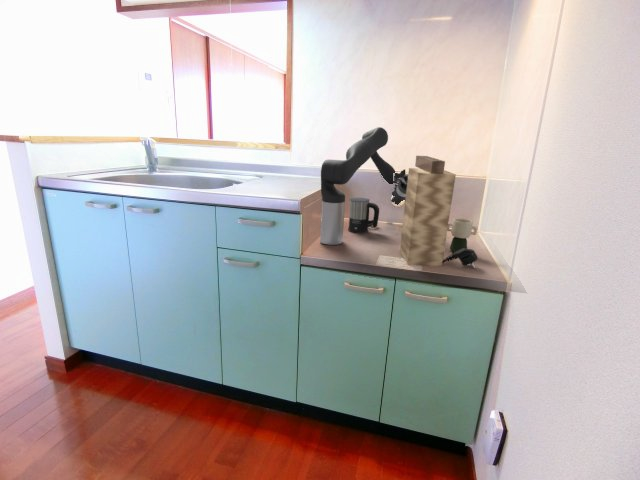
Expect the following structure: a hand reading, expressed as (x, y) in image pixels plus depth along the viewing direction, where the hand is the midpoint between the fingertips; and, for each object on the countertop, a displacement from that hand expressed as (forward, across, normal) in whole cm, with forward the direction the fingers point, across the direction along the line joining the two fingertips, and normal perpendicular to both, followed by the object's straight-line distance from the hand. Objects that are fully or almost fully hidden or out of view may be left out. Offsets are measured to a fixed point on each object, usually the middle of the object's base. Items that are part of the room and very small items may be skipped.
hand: (415, 171), depth 142 cm
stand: (+5, 0, +37) cm, 37 cm away
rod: (+18, 0, +7) cm, 19 cm away
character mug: (-2, +17, +32) cm, 37 cm away
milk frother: (-27, -18, +18) cm, 37 cm away
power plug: (+10, +12, +40) cm, 43 cm away
